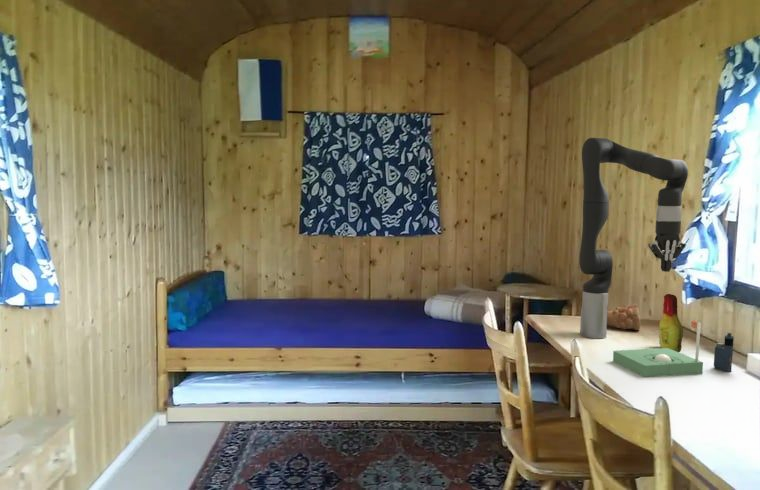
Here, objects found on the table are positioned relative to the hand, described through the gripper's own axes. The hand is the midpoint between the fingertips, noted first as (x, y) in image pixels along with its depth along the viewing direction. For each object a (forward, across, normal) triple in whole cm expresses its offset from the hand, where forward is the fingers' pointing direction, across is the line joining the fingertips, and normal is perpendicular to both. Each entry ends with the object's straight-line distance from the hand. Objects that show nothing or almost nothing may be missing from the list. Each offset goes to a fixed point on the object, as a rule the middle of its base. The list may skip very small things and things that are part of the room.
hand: (665, 271), depth 192 cm
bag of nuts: (+29, -10, -39) cm, 50 cm away
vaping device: (+29, -9, +17) cm, 35 cm away
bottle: (+29, -7, -5) cm, 30 cm away
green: (+29, +10, +11) cm, 33 cm away
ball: (+26, +10, +14) cm, 31 cm away
